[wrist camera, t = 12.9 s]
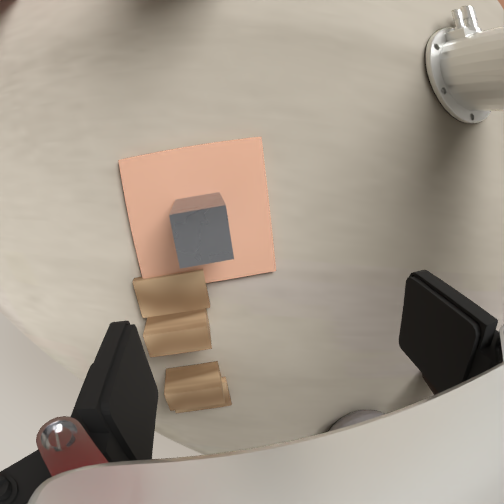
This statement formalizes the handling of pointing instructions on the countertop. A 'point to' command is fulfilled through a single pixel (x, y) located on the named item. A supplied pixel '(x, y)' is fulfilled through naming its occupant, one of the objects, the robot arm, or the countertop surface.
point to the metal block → (201, 230)
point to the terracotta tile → (194, 184)
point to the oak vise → (181, 338)
